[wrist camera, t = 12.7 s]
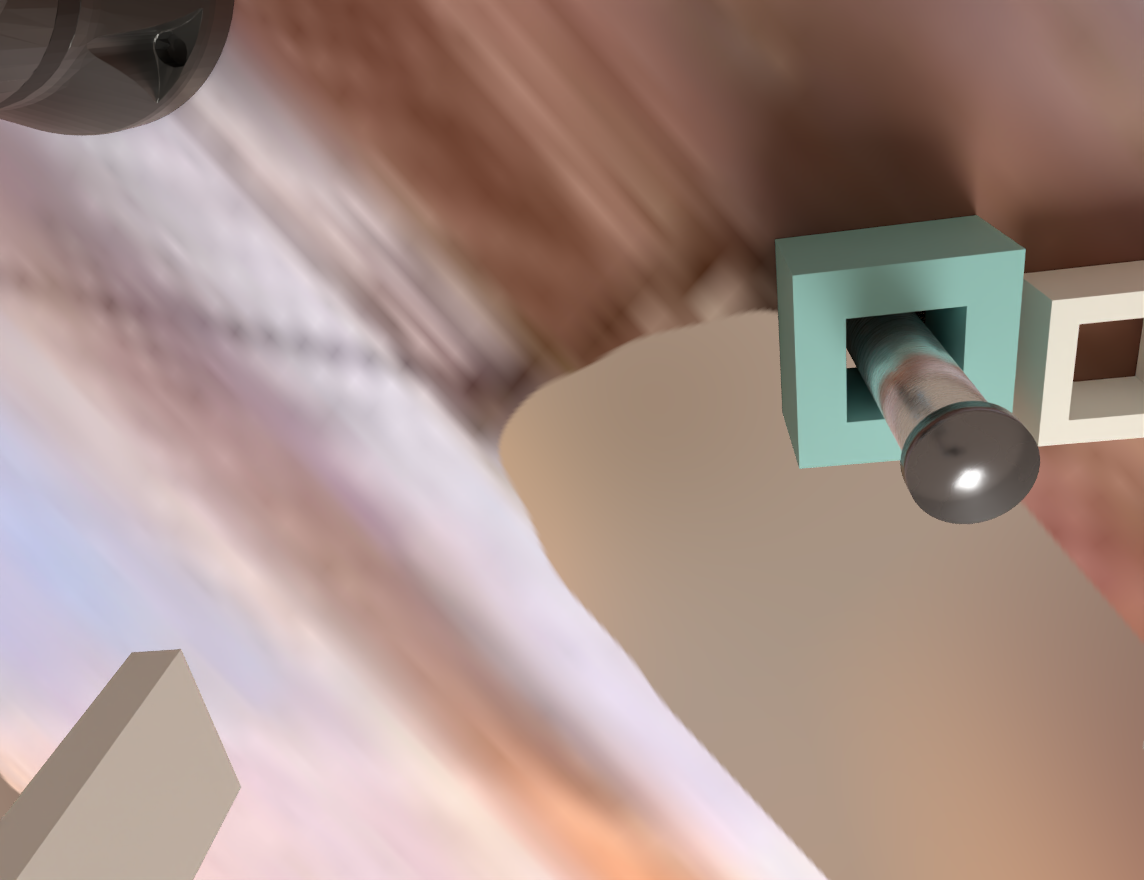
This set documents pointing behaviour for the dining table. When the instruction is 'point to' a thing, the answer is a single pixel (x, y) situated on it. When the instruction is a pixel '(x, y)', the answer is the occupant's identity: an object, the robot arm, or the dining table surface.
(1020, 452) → the pin
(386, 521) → the dining table surface
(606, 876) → the dining table surface
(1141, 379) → the mount
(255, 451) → the dining table surface
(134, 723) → the robot arm
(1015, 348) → the socket
